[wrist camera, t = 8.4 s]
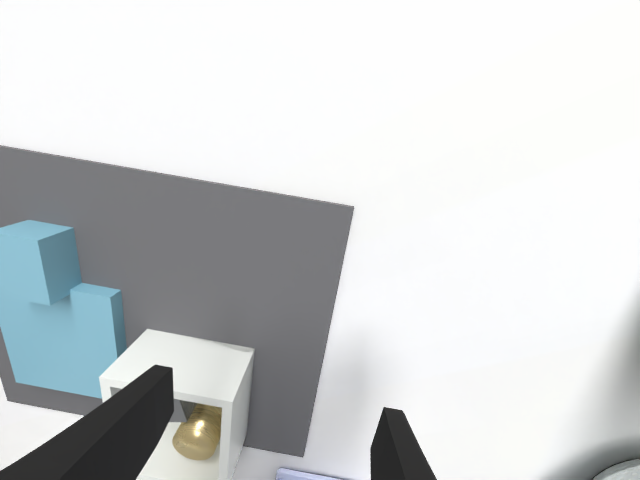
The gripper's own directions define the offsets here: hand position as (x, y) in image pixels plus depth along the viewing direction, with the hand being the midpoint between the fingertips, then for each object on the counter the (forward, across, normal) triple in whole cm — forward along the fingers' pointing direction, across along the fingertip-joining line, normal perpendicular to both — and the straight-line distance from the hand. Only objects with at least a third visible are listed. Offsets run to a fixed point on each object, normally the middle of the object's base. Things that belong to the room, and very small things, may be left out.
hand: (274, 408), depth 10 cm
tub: (+10, +7, +11) cm, 16 cm away
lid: (+10, +17, +6) cm, 21 cm away
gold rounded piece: (+9, +6, +12) cm, 17 cm away
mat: (+10, +11, +6) cm, 16 cm away
